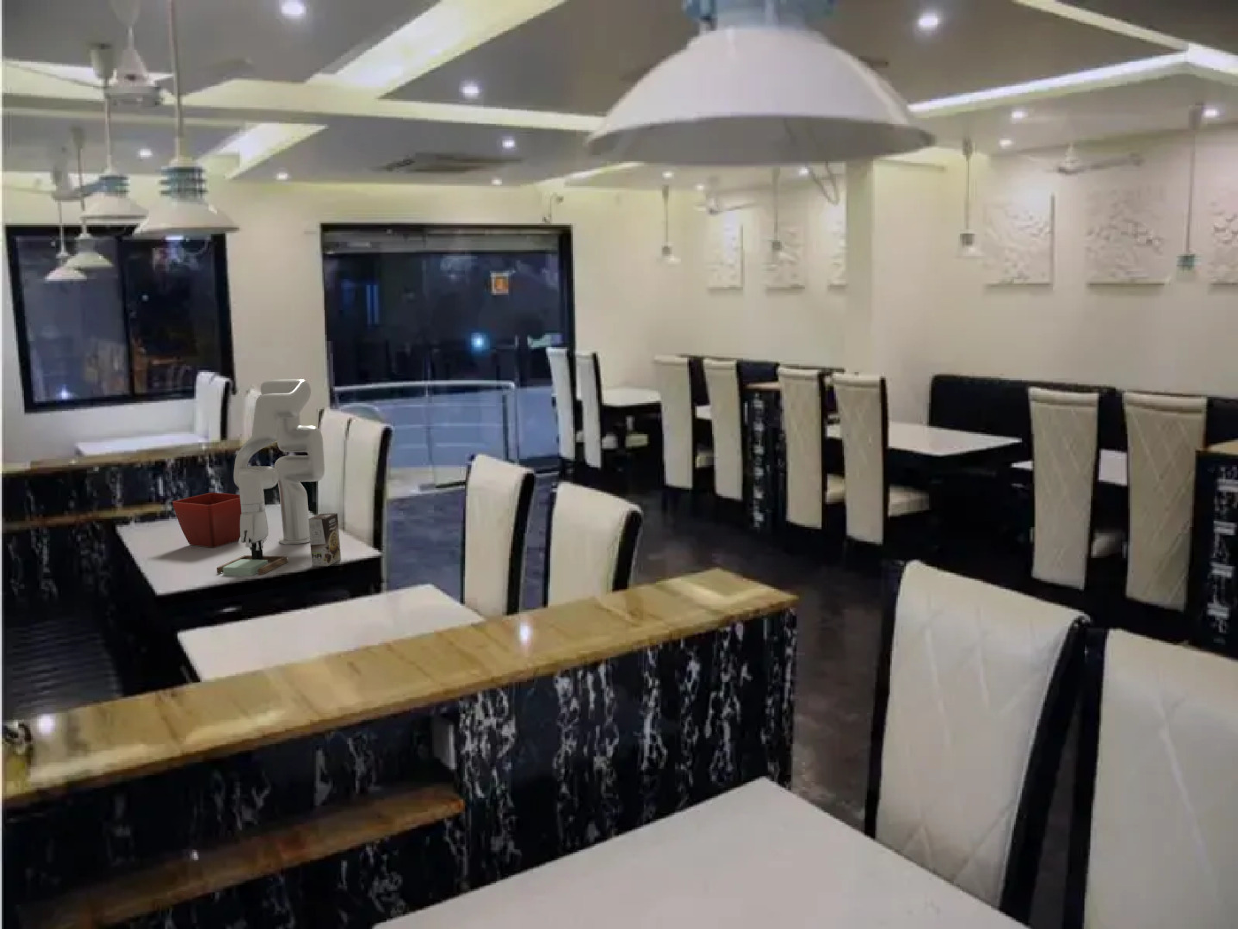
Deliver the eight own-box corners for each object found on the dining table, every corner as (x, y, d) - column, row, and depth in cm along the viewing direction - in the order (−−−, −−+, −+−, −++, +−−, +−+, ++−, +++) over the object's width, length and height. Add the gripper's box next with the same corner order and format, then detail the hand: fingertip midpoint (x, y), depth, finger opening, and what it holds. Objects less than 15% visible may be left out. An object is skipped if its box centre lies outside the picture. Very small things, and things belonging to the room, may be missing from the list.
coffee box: (329, 566, 332) (325, 518, 330) (311, 566, 334) (307, 518, 331) (341, 559, 341) (338, 512, 338) (324, 558, 342) (320, 512, 340)
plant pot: (253, 539, 375) (249, 494, 372) (214, 551, 358) (209, 505, 355) (216, 535, 383) (211, 492, 380) (175, 547, 366) (170, 501, 363)
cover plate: (241, 567, 335) (240, 559, 335) (268, 568, 333) (267, 560, 333) (223, 576, 326) (222, 567, 325) (251, 577, 324) (250, 568, 323)
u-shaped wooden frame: (245, 560, 343) (244, 555, 342) (287, 562, 339) (287, 556, 339) (217, 573, 327) (216, 567, 327) (261, 575, 324) (260, 569, 324)
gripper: (255, 502, 341) (260, 555, 344) (229, 512, 327) (234, 566, 330) (275, 503, 340) (279, 555, 343) (250, 512, 325) (255, 567, 328)
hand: (257, 561), depth 336 cm, fingers closed
